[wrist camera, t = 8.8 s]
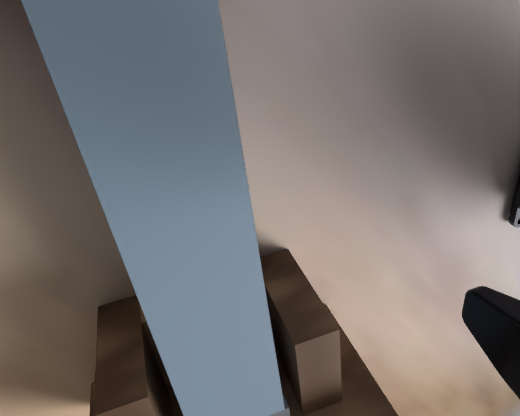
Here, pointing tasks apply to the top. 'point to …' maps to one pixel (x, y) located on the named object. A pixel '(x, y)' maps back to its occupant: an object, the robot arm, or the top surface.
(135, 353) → the headboard posts
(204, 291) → the bed rail
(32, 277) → the top surface
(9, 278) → the top surface
